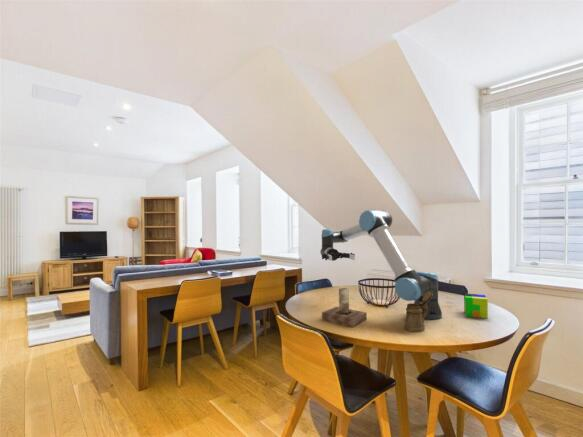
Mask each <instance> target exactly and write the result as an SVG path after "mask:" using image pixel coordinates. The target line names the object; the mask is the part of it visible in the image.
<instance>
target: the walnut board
mask: <svg viewBox="0 0 583 437" xmlns="http://www.w3.org/2000/svg"><path fill="white" fill-rule="evenodd" d="M367 314H368V313H367V312H366V311H362V310H361V311H360V310H356V309H350V308H349V314H348V315H344V314H339V306H334V307H332V308H329V309H326V310H323V311H322V312H321V321H324V322H329V323H333V324H336V325H340V326H346V327H350V328H355V327H357V326H358V325H361V324H363V323H364V322H366V321H368V320H367Z"/></svg>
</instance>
